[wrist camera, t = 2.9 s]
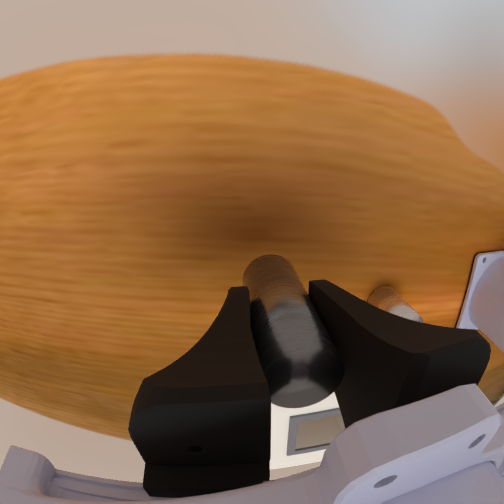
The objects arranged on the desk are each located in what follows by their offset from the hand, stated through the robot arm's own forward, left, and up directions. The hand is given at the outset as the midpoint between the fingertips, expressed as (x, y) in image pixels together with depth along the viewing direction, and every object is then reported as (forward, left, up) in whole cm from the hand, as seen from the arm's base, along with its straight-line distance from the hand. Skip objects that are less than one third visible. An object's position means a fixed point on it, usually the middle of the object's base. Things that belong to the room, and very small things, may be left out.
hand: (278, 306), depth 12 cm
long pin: (0, 0, -2) cm, 2 cm away
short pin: (-9, +5, -7) cm, 12 cm away
